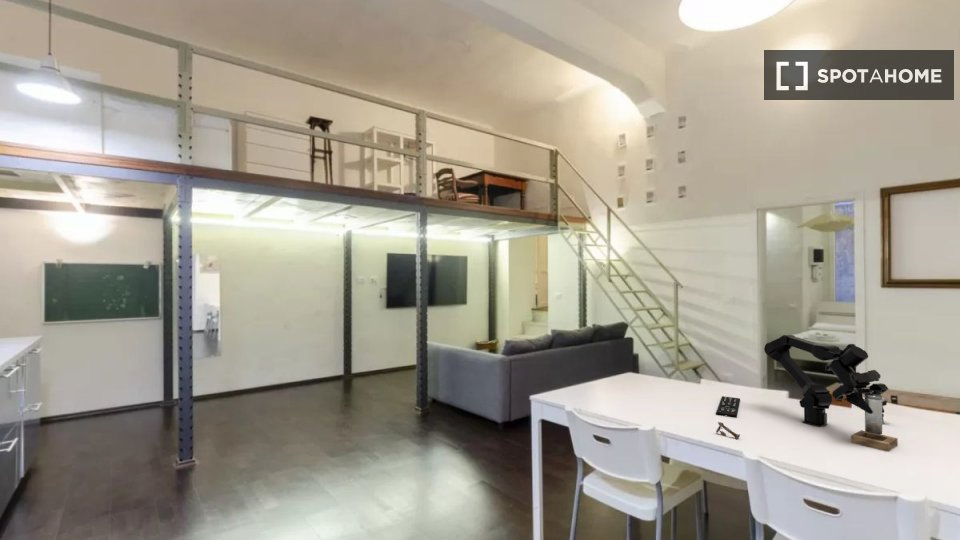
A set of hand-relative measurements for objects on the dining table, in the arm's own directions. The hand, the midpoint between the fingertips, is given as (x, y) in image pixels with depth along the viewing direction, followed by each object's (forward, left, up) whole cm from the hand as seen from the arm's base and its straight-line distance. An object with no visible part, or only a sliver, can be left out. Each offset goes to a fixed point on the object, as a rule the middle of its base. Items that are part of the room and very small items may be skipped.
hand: (877, 412), depth 156 cm
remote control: (-53, +4, -12) cm, 55 cm away
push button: (-8, +32, -11) cm, 35 cm away
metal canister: (-1, +1, -7) cm, 7 cm away
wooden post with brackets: (-34, -34, -12) cm, 50 cm away
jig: (-1, +1, -11) cm, 11 cm away
